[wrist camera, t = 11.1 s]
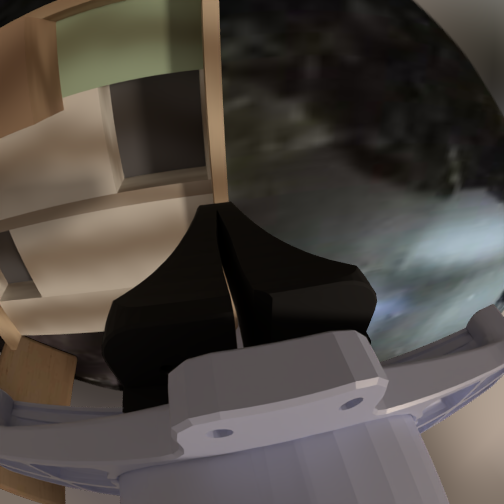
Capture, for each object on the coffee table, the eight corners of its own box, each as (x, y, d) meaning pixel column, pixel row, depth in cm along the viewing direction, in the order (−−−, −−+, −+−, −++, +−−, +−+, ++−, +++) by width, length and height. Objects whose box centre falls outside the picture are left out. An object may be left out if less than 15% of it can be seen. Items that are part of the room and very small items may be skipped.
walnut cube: (64, 110, 13) (34, 124, 10) (-6, 136, 12) (-39, 157, 9) (55, 21, 10) (24, 15, 6) (-16, 57, 9) (-53, 64, 6)
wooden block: (13, 364, 30) (-8, 485, 14) (9, 327, 26) (-25, 476, 10) (70, 386, 34) (63, 509, 19) (78, 355, 30) (65, 509, 14)
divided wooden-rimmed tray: (230, 293, 28) (238, 333, 24) (24, 315, 25) (11, 349, 21) (211, -11, 13) (218, -34, 9) (-59, 89, 9) (-95, 103, 6)
